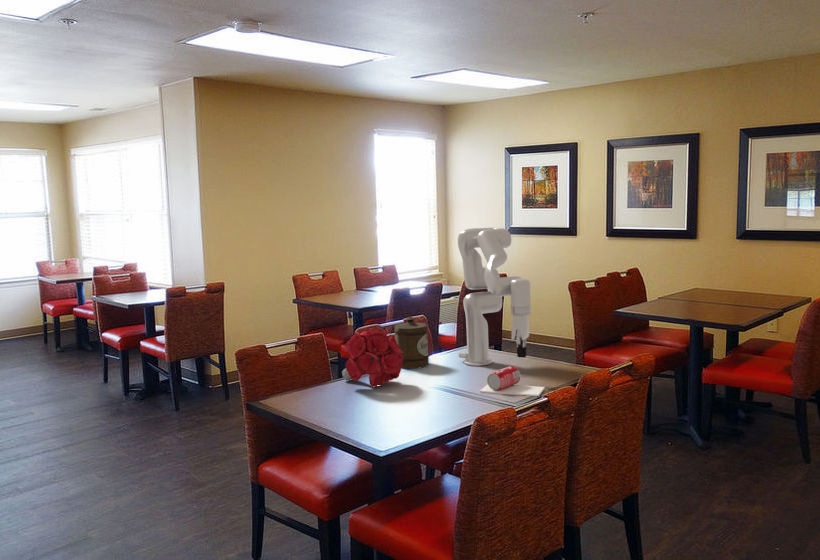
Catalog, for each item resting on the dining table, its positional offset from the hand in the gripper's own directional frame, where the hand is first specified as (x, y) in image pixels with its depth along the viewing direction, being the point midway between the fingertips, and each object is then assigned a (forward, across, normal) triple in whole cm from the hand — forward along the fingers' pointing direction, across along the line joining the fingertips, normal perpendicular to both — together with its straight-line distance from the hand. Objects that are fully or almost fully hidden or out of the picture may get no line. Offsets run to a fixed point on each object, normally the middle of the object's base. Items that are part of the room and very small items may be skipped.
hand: (521, 356), depth 258 cm
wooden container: (+11, -16, -55) cm, 58 cm away
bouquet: (+11, +18, -57) cm, 61 cm away
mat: (+10, +12, -1) cm, 16 cm away
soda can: (+6, +4, -2) cm, 8 cm away
